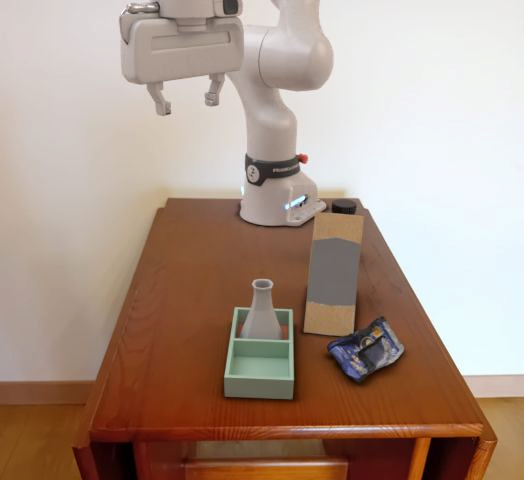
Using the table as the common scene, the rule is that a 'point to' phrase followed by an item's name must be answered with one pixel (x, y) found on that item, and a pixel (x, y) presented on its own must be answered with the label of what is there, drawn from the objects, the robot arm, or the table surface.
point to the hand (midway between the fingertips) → (188, 110)
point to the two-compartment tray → (260, 361)
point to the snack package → (366, 349)
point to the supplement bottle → (344, 206)
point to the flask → (262, 314)
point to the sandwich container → (333, 274)
